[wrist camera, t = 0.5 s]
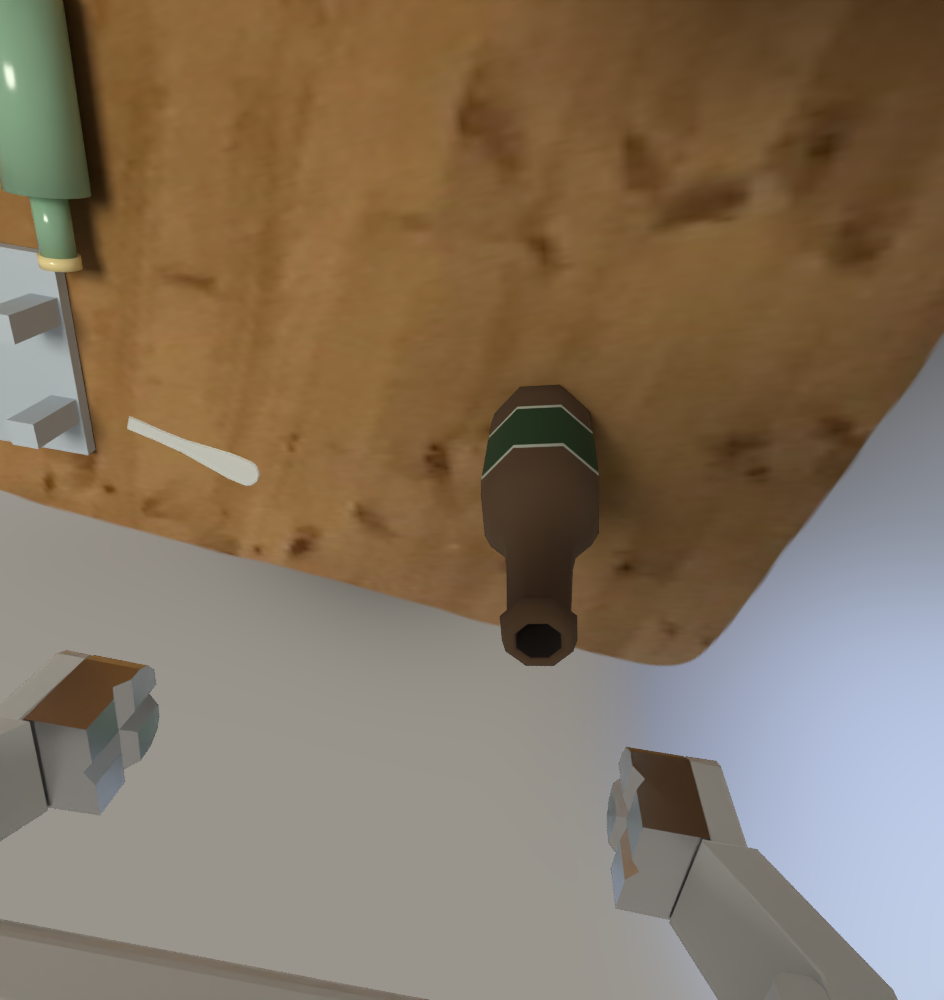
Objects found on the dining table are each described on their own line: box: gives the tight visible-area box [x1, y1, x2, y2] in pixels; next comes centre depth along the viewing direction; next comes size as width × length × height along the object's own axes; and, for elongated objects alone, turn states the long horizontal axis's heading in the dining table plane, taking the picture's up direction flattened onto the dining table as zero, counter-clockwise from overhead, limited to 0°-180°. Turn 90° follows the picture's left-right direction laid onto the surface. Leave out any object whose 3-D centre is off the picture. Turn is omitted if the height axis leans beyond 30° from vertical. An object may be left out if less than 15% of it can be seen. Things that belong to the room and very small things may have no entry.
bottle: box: [0, 0, 92, 272], centre depth 41 cm, size 16×5×5 cm, turn 172°
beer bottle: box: [481, 385, 599, 666], centre depth 40 cm, size 8×8×24 cm
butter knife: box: [127, 416, 260, 486], centre depth 53 cm, size 1×24×3 cm
